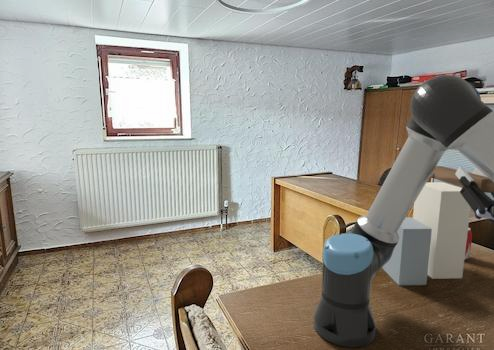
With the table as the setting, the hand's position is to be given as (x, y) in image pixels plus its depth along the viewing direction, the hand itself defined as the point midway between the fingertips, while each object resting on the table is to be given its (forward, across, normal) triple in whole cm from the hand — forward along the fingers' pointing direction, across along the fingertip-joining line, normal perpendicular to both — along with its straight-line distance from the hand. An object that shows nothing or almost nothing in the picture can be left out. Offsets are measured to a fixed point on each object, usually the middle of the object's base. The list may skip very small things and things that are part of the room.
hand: (466, 170), depth 88 cm
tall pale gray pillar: (-8, -8, -40) cm, 42 cm away
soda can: (+3, +22, -47) cm, 52 cm away
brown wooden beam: (0, 0, -5) cm, 5 cm away
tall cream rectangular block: (-4, +6, -42) cm, 43 cm away
